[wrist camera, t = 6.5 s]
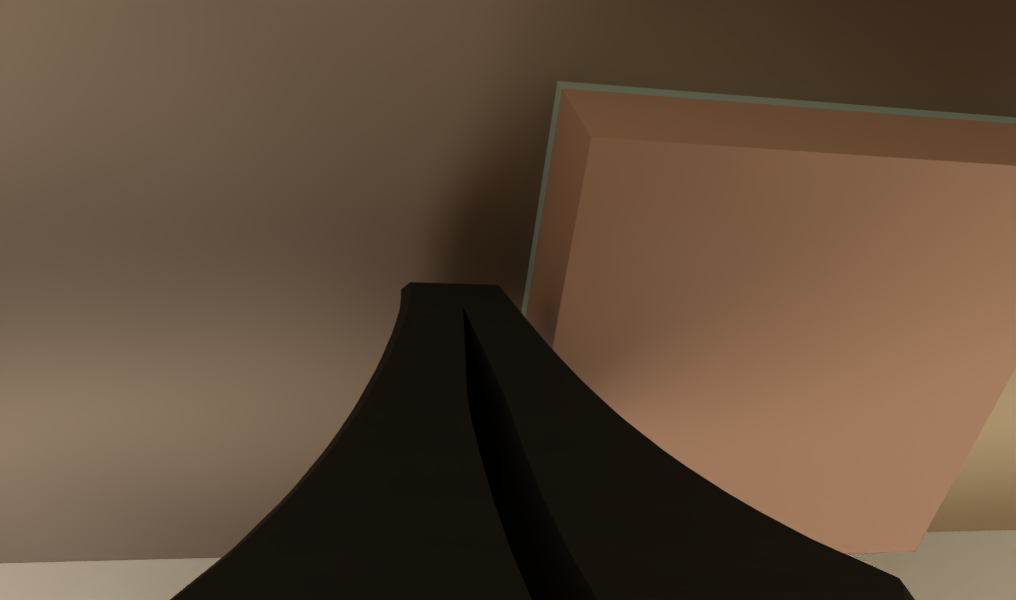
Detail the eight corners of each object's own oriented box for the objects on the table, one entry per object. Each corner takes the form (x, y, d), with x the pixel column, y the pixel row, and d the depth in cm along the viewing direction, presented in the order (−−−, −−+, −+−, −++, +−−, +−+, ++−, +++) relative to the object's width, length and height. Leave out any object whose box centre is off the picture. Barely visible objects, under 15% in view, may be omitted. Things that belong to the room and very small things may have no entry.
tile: (496, 472, 15) (857, 469, 16) (512, 562, 13) (914, 551, 14) (557, 80, 11) (1019, 117, 12) (591, 137, 9) (1122, 172, 11)
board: (1183, 492, 20) (1266, 567, 18) (-82, 512, 15) (-146, 616, 13) (1537, 20, 14) (1715, 57, 12) (-331, -204, 9) (-508, -199, 7)
